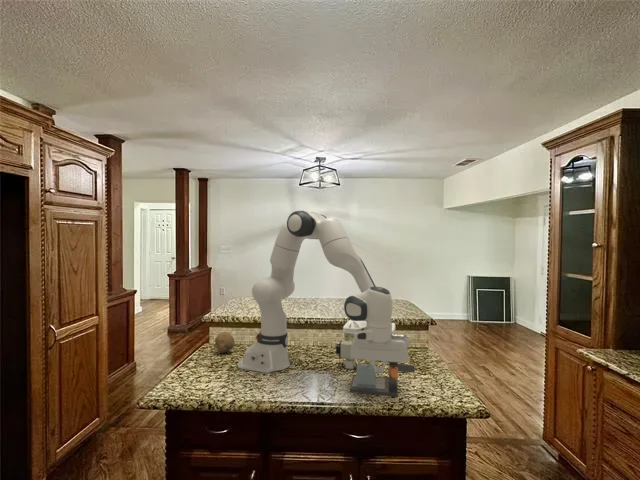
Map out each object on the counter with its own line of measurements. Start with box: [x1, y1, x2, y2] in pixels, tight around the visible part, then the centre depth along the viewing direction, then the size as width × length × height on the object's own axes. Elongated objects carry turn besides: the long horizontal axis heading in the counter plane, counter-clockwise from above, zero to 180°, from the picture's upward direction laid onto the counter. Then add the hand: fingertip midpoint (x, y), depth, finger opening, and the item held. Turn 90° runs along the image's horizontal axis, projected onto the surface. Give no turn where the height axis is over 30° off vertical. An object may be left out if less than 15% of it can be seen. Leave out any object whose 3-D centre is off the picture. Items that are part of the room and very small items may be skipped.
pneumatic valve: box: [335, 340, 357, 370], centre depth 155 cm, size 6×12×12 cm, turn 78°
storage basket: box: [342, 319, 396, 341], centre depth 172 cm, size 24×16×15 cm
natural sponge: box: [214, 331, 236, 354], centre depth 172 cm, size 9×9×10 cm
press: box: [349, 362, 416, 398], centre depth 135 cm, size 23×14×18 cm, turn 79°
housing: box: [356, 362, 377, 385], centre depth 136 cm, size 7×5×6 cm
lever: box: [388, 366, 399, 381], centre depth 127 cm, size 3×6×4 cm, turn 169°
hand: (378, 372), depth 126 cm, fingers closed
